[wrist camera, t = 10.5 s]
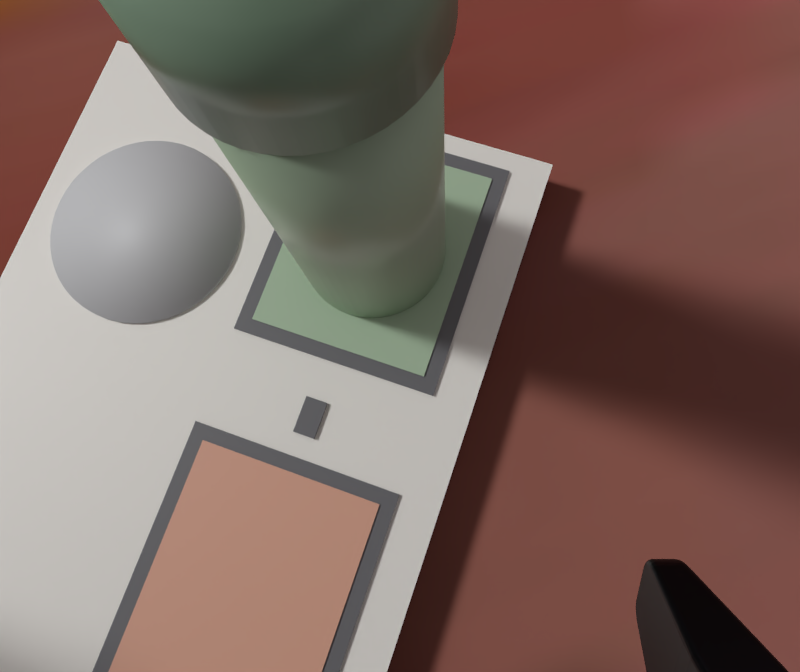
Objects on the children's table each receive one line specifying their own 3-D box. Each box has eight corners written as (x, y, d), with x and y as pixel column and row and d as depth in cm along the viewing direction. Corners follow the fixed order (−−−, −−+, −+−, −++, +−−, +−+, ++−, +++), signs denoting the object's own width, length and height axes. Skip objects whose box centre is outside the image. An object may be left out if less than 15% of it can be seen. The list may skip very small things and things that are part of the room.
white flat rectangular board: (338, 819, 16) (331, 842, 15) (-137, 613, 18) (-174, 621, 17) (547, 180, 20) (553, 162, 19) (132, 61, 22) (115, 38, 21)
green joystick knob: (422, 346, 18) (375, 80, 6) (272, 296, 18) (-27, -31, 7) (473, 201, 19) (517, -275, 7) (328, 158, 19) (146, -345, 8)
